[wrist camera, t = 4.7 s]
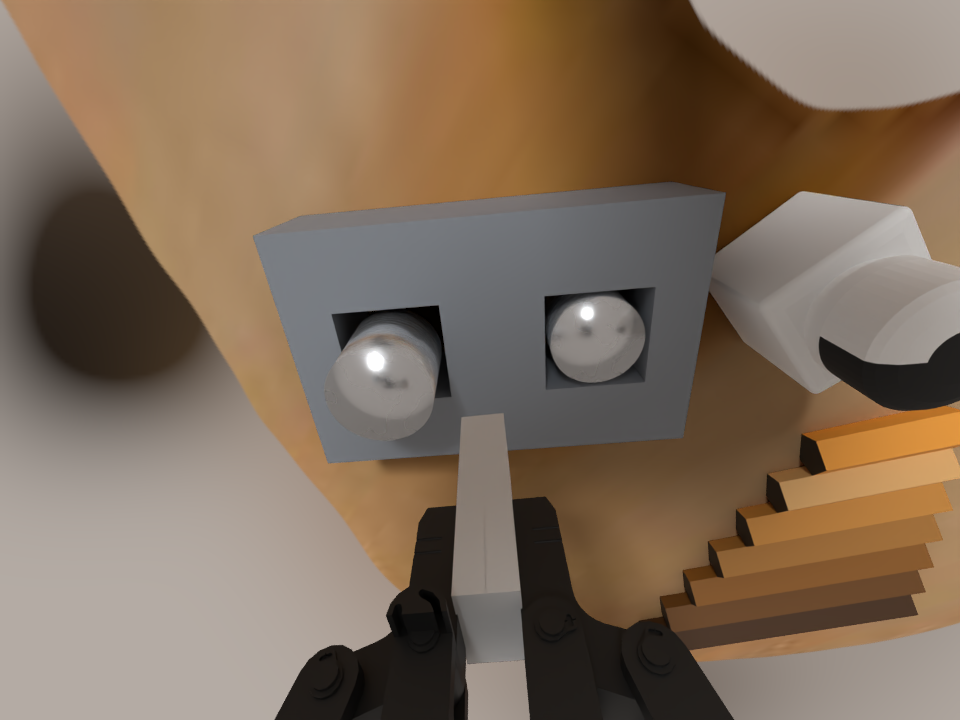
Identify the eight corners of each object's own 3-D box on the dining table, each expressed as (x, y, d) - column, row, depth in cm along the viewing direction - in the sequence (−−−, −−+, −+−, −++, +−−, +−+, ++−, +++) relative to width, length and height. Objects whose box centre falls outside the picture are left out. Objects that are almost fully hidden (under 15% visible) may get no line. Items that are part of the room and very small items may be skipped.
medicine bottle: (845, 275, 27) (1086, 362, 16) (742, 342, 29) (895, 458, 18) (801, 187, 24) (1050, 222, 14) (692, 268, 27) (835, 352, 16)
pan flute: (639, 631, 46) (884, 591, 43) (651, 665, 43) (914, 625, 40) (608, 464, 35) (935, 395, 32) (621, 495, 32) (982, 421, 29)
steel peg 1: (343, 312, 23) (311, 353, 18) (435, 304, 22) (425, 344, 18) (363, 390, 25) (339, 444, 20) (446, 384, 25) (440, 436, 20)
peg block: (300, 216, 25) (252, 235, 20) (671, 181, 24) (725, 192, 19) (353, 409, 31) (328, 463, 26) (647, 386, 31) (683, 437, 25)
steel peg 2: (537, 274, 26) (550, 302, 21) (619, 267, 25) (649, 293, 21) (539, 347, 28) (551, 385, 24) (614, 341, 28) (640, 378, 23)
